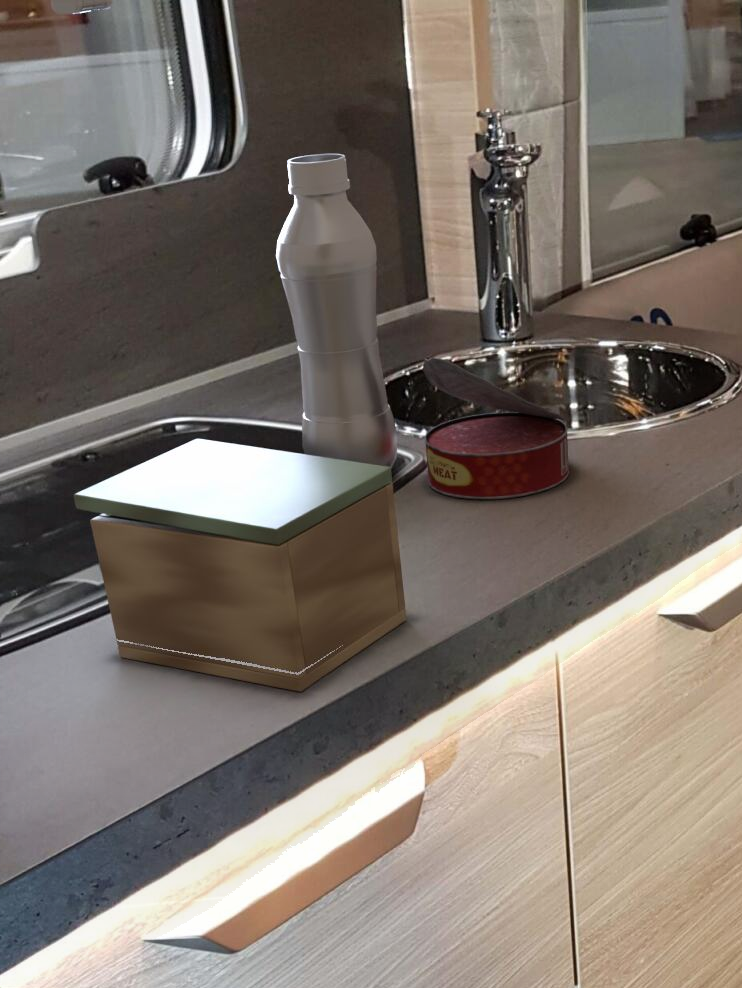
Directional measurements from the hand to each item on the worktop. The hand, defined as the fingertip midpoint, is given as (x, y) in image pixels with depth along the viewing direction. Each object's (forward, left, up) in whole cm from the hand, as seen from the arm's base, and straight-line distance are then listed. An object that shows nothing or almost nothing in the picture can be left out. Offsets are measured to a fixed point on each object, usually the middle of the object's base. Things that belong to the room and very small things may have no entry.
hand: (83, 12), depth 82 cm
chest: (+9, -15, -29) cm, 34 cm away
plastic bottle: (+9, +13, -29) cm, 33 cm away
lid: (+9, -15, -21) cm, 27 cm away
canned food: (+19, +13, -29) cm, 37 cm away
